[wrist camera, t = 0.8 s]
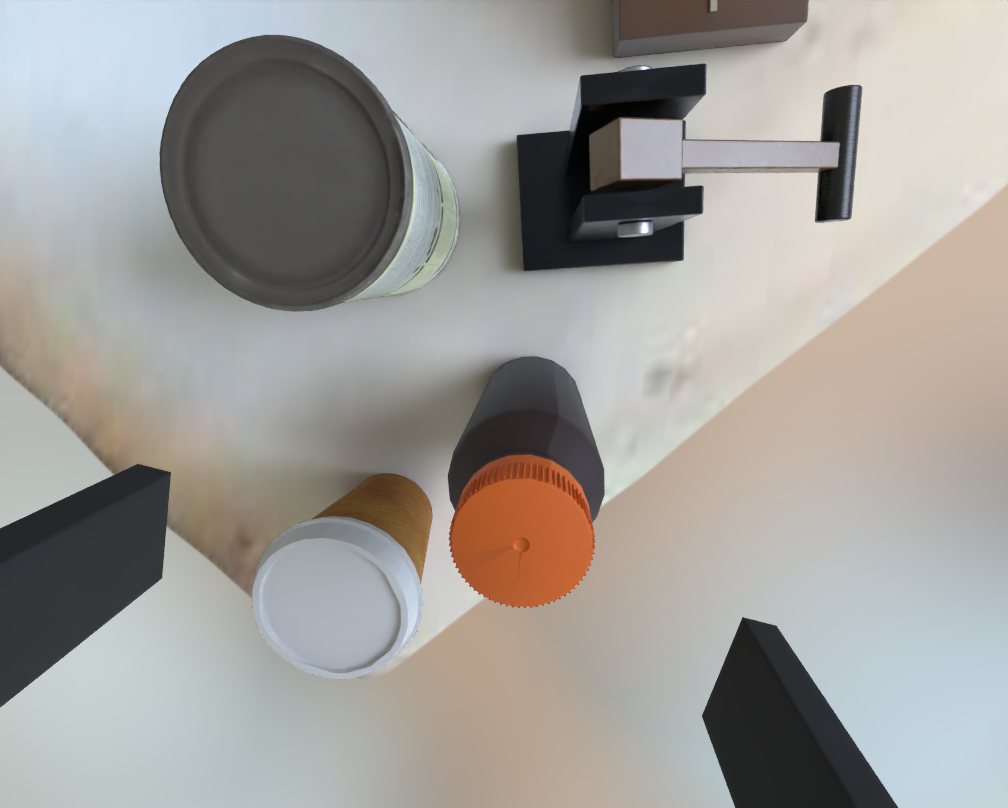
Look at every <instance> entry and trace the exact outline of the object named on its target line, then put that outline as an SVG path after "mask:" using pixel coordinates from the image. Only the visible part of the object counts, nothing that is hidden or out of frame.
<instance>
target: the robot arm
mask: <svg viewBox="0 0 1008 808" xmlns="http://www.w3.org/2000/svg"><path fill="white" fill-rule="evenodd" d="M170 477H171V472H167V471H163V470H159V469H156V468H152V467H148V466H144V465H140V464H137V465H135V466H133V467H130V468H128V469H126V470H124V471H122V472H120V473H118V474H115V475H113V476H111V477H109V478H107V479H105V480H103V481H101V482H99V483H96V484H94V485H92V486H90V487H88V488H86V489H84V490H81V491H79V492H77V493H75V494H73V495H71V496H69V497H66V498H64V499H62V500H60V501H58V502H56V503H54V504H52V505H49V506H47V507H45V508H43V509H41V510H39V511H37V512H35V513H32V514H30V515H28V516H26V517H24V518H22V519H20V520H17V521H15V522H13V523H11V524H9V525H7V526H5V527H2V528H0V707H1V706H3V705H4V704H5V703H6V702H8V701H9V700H10V699H11V698H13V697H14V696H15V695H16V694H18V693H19V692H20V691H21V690H23V689H24V688H25V687H26V686H28V685H29V684H30V683H32V682H33V681H34V680H35V679H36V678H38V677H39V676H40V675H41V674H43V673H44V672H45V671H47V670H48V669H49V668H50V667H51V666H53V665H54V664H55V663H56V662H58V661H59V660H60V659H61V658H63V657H64V656H65V655H66V654H68V653H69V652H70V651H72V650H73V649H74V648H75V647H77V646H78V645H79V644H80V643H81V642H83V641H84V640H85V639H87V638H88V637H89V636H90V635H92V634H93V633H94V632H95V631H97V630H98V629H99V628H100V627H102V626H103V625H104V624H105V623H106V622H108V621H109V620H110V619H111V618H113V617H114V616H115V615H116V614H118V613H119V612H120V611H121V610H123V609H124V608H125V607H126V606H128V605H129V604H130V603H132V602H133V601H134V600H135V599H137V598H138V597H139V596H140V595H141V594H143V593H144V592H145V591H146V590H148V589H149V588H150V587H152V586H153V585H154V584H155V583H157V582H158V581H159V580H160V579H161V578H162V572H163V571H162V570H163V559H164V547H165V535H166V524H167V512H168V500H169V488H170ZM702 718H703V720H704V723H705V726H706V728H707V731H708V734H709V737H710V740H711V742H712V745H713V748H714V751H715V753H716V756H717V759H718V762H719V764H720V767H721V770H722V773H723V775H724V778H725V781H726V783H727V786H728V789H729V792H730V794H731V797H732V800H733V803H734V805H735V808H898V807H897V805H896V804H895V802H894V801H893V799H892V798H891V797H890V795H889V793H888V792H887V790H886V789H885V787H884V786H883V784H882V783H881V782H880V780H879V778H878V777H877V775H876V774H875V773H874V771H873V769H872V768H871V766H870V765H869V763H868V762H867V761H866V759H865V757H864V756H863V754H862V753H861V751H860V750H859V749H858V747H857V746H856V744H855V742H854V741H853V740H852V738H851V737H850V735H849V734H848V732H847V731H846V729H845V728H844V726H843V725H842V723H841V722H840V720H839V719H838V717H837V716H836V714H835V713H834V711H833V710H832V708H831V707H830V705H829V704H828V702H827V701H826V699H825V698H824V696H823V695H822V694H821V692H820V690H819V689H818V687H817V686H816V684H815V683H814V681H813V680H812V678H811V677H810V675H809V674H808V672H807V671H806V669H805V668H804V666H803V665H802V663H801V662H800V661H799V659H798V658H797V656H796V654H795V653H794V652H793V650H792V649H791V647H790V645H789V644H788V642H787V641H786V640H785V638H784V637H783V635H782V633H781V632H780V631H779V629H778V628H777V626H775V625H771V624H767V623H763V622H759V621H755V620H751V619H747V618H742V620H741V623H740V625H739V627H738V630H737V632H736V635H735V637H734V640H733V642H732V644H731V647H730V649H729V652H728V654H727V657H726V659H725V661H724V664H723V666H722V669H721V671H720V674H719V676H718V678H717V681H716V683H715V686H714V688H713V691H712V693H711V695H710V698H709V700H708V703H707V705H706V707H705V710H704V712H703V715H702Z"/></svg>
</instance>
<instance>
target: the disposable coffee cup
mask: <svg viewBox="0 0 1008 808" xmlns="http://www.w3.org/2000/svg"><path fill="white" fill-rule="evenodd" d="M431 523H432V508H431V505H430V501H429V499H428V498H427V496H426V494H425V493H424V492H423V490H422V489H421V488H420V487H419V486H418V485H417V484H416V483H414V482H413V481H411V480H409V479H407V478H405V477H402V476H399V475H394V474H381V475H377V476H374V477H371V478H369V479H367V480H366V481H364V482H363V483H362V484H360V485H359V486H358V487H356V488H355V489H353V490H352V491H351V492H349V493H348V494H346V495H345V496H343V497H342V498H341V499H339V500H338V501H337V502H335V503H334V504H332V505H331V506H329V507H328V508H327V509H325V510H324V511H322V512H321V513H320V514H318V515H317V516H315V517H314V518H313V519H311V520H308V521H304V522H300V523H298V524H296V525H294V526H292V527H290V528H288V529H286V530H285V531H284V532H282V533H281V534H280V535H279V536H277V537H276V538H275V539H274V540H273V541H272V542H271V543H270V544H269V546H268V547H267V549H266V550H265V552H264V554H263V555H262V557H261V558H260V561H259V564H258V568H257V571H256V578H255V582H254V585H253V590H252V610H253V613H254V617H255V620H256V624H257V627H258V629H259V631H260V632H261V634H262V636H263V637H264V639H265V641H266V642H267V644H268V645H269V646H270V647H271V648H272V649H273V650H274V651H275V652H276V654H278V655H279V656H281V657H282V658H283V659H285V660H287V661H288V662H289V663H290V664H292V665H293V666H295V667H296V668H298V669H300V670H303V671H305V672H307V673H310V674H312V675H316V676H321V677H325V678H333V679H345V678H354V677H358V676H363V675H367V674H369V673H371V672H373V671H375V670H377V669H379V668H381V667H382V666H383V665H385V664H386V663H387V662H388V661H389V660H391V659H392V658H393V657H394V656H396V655H397V654H399V653H400V652H401V651H402V650H403V649H404V648H405V647H406V646H407V645H408V644H409V643H410V641H411V639H412V638H413V636H414V634H415V633H416V631H417V629H418V626H419V623H420V620H421V615H422V609H423V596H422V587H421V579H422V573H423V567H424V562H425V557H426V551H427V545H428V539H429V533H430V528H431Z"/></svg>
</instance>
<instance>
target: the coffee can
mask: <svg viewBox="0 0 1008 808" xmlns="http://www.w3.org/2000/svg"><path fill="white" fill-rule="evenodd" d="M160 174H161V183H162V187H163V193H164V197H165V201H166V204H167V207H168V211H169V214H170V217H171V219H172V221H173V223H174V225H175V228H176V230H177V233H178V234H179V236H180V238H181V240H182V241H183V243H184V244H185V246H186V247H187V249H188V250H189V252H190V253H191V255H192V256H193V258H194V259H195V260H196V261H197V262H198V264H199V265H200V266H201V267H202V268H203V269H204V270H205V271H206V272H207V273H208V274H209V275H210V276H212V277H213V278H214V279H215V280H216V281H217V282H218V283H220V284H221V285H222V286H223V287H224V288H226V289H228V290H229V291H231V292H233V293H234V294H236V295H238V296H240V297H241V298H243V299H245V300H248V301H250V302H252V303H255V304H258V305H261V306H265V307H268V308H272V309H277V310H283V311H312V310H318V309H323V308H327V307H330V306H334V305H337V304H340V303H345V302H351V301H357V300H362V299H368V298H375V297H381V296H395V295H402V294H406V293H409V292H412V291H414V290H416V289H418V288H420V287H422V286H424V285H425V284H427V283H428V282H430V281H431V280H432V279H433V278H434V277H435V276H436V275H438V273H439V272H440V271H441V270H442V269H443V268H444V266H445V265H446V264H447V262H448V261H449V259H450V257H451V255H452V252H453V250H454V248H455V245H456V242H457V238H458V233H459V224H460V212H459V203H458V196H457V193H456V191H455V188H454V185H453V182H452V180H451V178H450V176H449V174H448V172H447V171H446V169H445V167H444V166H443V165H442V163H441V162H440V161H439V160H438V159H437V158H436V156H435V155H434V154H433V153H432V152H431V151H429V150H428V149H427V148H426V147H425V146H424V145H423V144H422V143H421V141H420V140H419V139H418V138H417V137H416V136H415V135H414V134H413V133H412V132H411V131H410V129H409V128H408V127H407V126H406V125H405V124H404V123H403V121H402V120H401V119H400V118H399V117H398V116H397V115H396V113H395V112H394V111H392V109H391V107H390V106H389V104H388V102H387V101H386V99H385V98H384V97H383V95H382V94H381V93H380V91H379V90H378V89H377V87H376V86H375V85H374V84H373V83H372V82H371V81H370V80H369V79H368V78H367V77H366V76H365V75H364V74H363V73H362V72H361V71H360V70H359V69H358V68H357V67H356V66H354V65H353V64H352V63H350V62H349V61H348V60H346V59H345V58H344V57H342V56H340V55H339V54H337V53H335V52H334V51H332V50H330V49H327V48H325V47H323V46H322V45H320V44H317V43H314V42H311V41H308V40H305V39H301V38H296V37H291V36H284V35H263V36H257V37H251V38H247V39H243V40H240V41H237V42H234V43H232V44H230V45H227V46H225V47H223V48H221V49H220V50H218V51H216V52H214V53H213V54H211V55H210V56H209V57H207V58H206V59H205V60H203V61H202V62H201V63H200V64H199V65H198V66H197V67H196V68H195V69H194V70H193V71H192V72H191V73H190V74H189V75H188V77H187V78H186V79H185V81H184V82H183V83H182V85H181V87H180V89H179V91H178V92H177V94H176V96H175V98H174V99H173V102H172V104H171V106H170V109H169V112H168V115H167V118H166V121H165V125H164V129H163V133H162V139H161V146H160Z"/></svg>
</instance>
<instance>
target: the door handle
mask: <svg viewBox="0 0 1008 808" xmlns="http://www.w3.org/2000/svg"><path fill="white" fill-rule="evenodd" d="M861 97H862V86H860V85H848V86H842V87H838V88H835V89H832V90H830V91H828V92H826V93H825V94H824V98H823V112H822V127H821V141H759V140H690V139H683V119H674V118H639V117H618V118H617V119H615V120H613V121H612V122H610V123H608V124H607V125H605V126H603V127H601V128H600V129H598V130H596V131H595V132H593V133H591V134H590V136H589V147H590V188H591V191H593V192H594V191H639V190H651V189H654V188H657V187H661V186H664V185H667V184H670V183H674V182H677V181H680V180H681V179H682V173H800V172H818V184H817V198H816V212H815V222H816V223H824V222H836V221H844V220H849V219H851V214H852V203H853V191H854V179H855V168H856V156H857V144H858V132H859V121H860V109H861Z"/></svg>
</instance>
